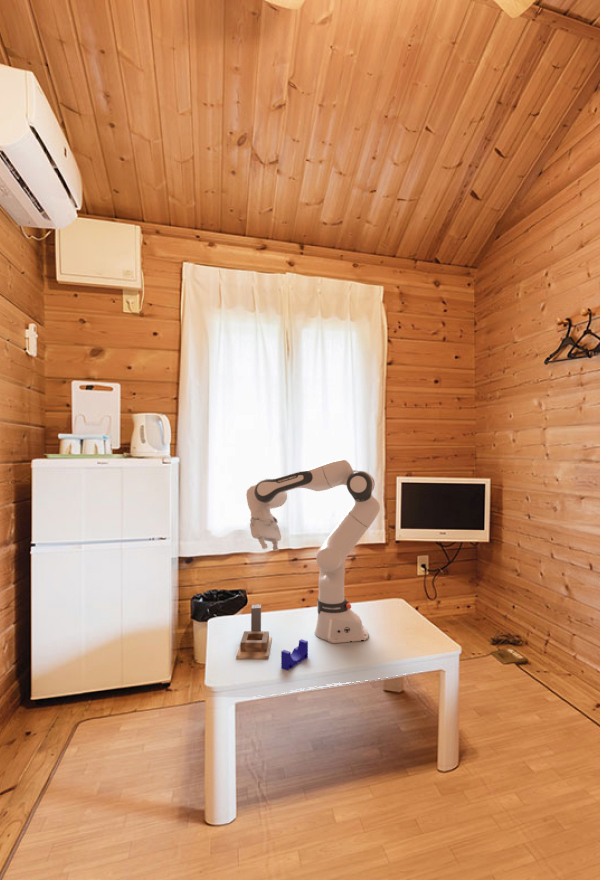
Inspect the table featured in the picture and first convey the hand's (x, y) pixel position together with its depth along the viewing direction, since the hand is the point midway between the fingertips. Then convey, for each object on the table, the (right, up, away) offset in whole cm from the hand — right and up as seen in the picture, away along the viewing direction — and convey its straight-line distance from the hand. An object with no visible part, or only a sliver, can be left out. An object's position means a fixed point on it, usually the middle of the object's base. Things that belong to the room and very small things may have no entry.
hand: (270, 549), depth 173 cm
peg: (-6, -35, -4) cm, 36 cm away
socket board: (-5, -35, -16) cm, 38 cm away
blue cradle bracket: (+10, -35, -26) cm, 44 cm away
